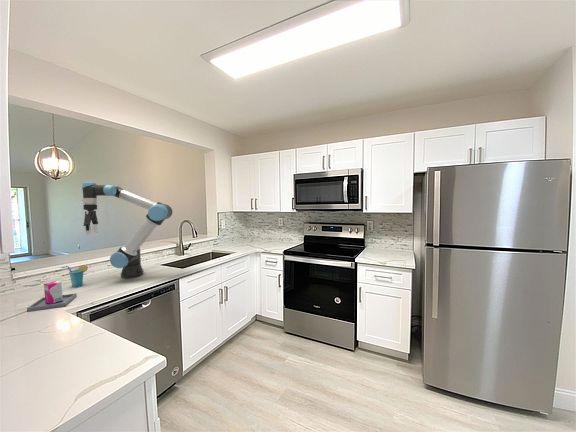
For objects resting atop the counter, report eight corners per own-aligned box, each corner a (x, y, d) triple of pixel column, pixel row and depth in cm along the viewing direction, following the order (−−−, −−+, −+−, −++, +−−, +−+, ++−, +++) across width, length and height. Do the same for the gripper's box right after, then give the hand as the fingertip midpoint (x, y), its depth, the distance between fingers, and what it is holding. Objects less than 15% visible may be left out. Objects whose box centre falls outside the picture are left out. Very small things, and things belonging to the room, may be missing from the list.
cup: (61, 290, 158) (59, 267, 157) (62, 287, 164) (60, 265, 163) (88, 285, 166) (87, 264, 166) (88, 282, 172) (87, 262, 172)
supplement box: (58, 299, 141) (56, 280, 140) (63, 301, 138) (61, 281, 138) (44, 303, 136) (43, 283, 135) (49, 305, 133) (48, 284, 132)
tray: (76, 296, 147) (76, 293, 147) (65, 306, 133) (65, 302, 133) (42, 300, 141) (42, 297, 141) (27, 311, 126) (26, 308, 126)
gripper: (89, 204, 180) (91, 232, 181) (76, 204, 157) (78, 236, 158) (102, 204, 183) (103, 232, 184) (90, 204, 160) (92, 235, 161)
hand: (91, 234), depth 171 cm, fingers open, 13 cm apart
